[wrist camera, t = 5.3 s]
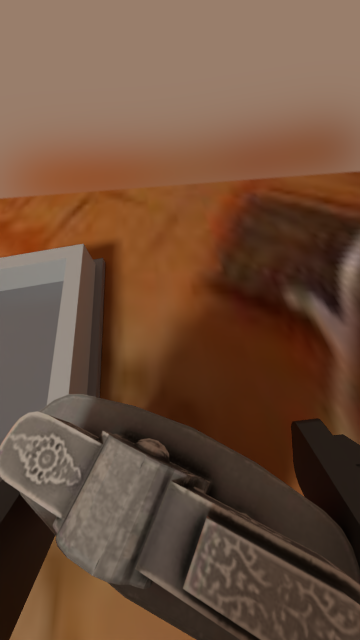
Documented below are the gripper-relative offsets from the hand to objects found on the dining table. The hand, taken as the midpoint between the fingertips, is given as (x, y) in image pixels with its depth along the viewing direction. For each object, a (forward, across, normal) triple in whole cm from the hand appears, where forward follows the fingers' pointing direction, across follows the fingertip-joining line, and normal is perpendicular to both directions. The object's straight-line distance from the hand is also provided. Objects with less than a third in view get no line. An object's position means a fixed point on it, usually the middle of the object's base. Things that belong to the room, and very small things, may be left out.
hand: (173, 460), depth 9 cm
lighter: (+3, 0, +4) cm, 5 cm away
